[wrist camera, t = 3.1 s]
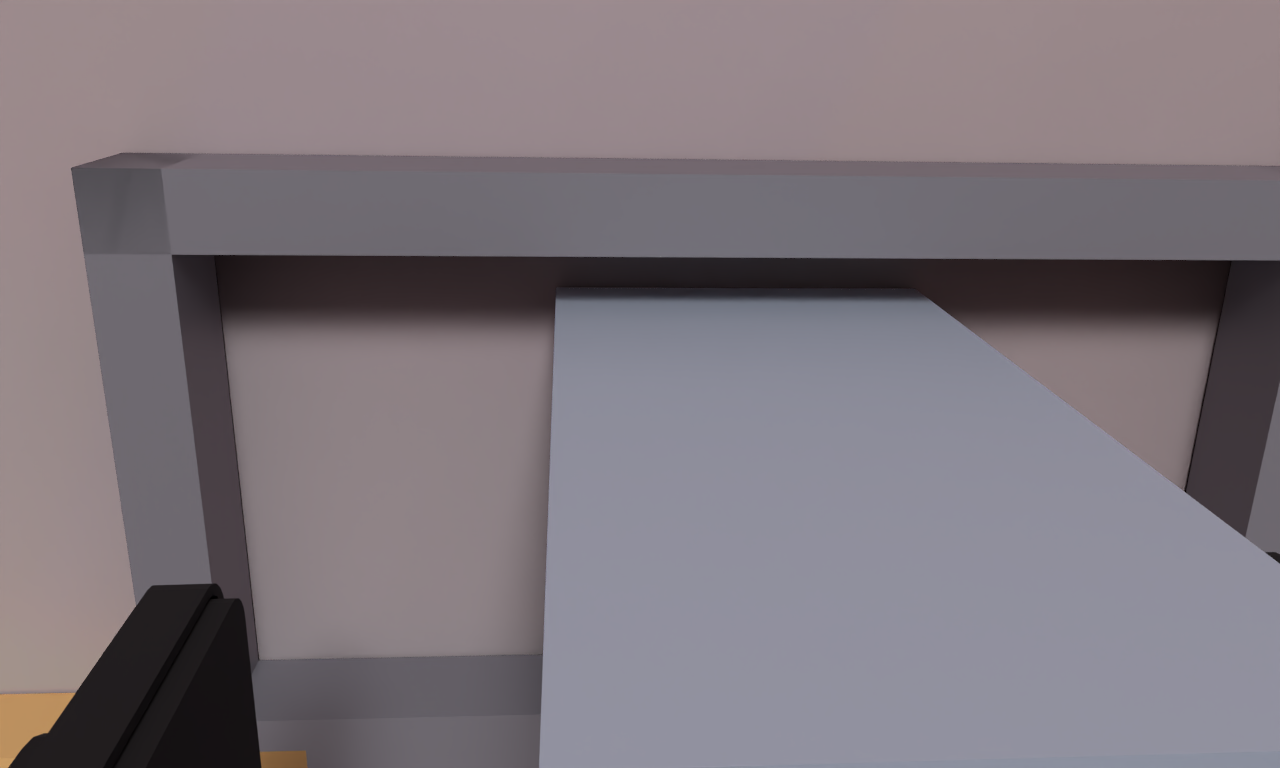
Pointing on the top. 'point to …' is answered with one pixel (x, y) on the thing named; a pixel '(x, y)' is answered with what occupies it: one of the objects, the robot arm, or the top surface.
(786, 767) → the plug
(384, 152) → the top surface
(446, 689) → the tan grey double frame
